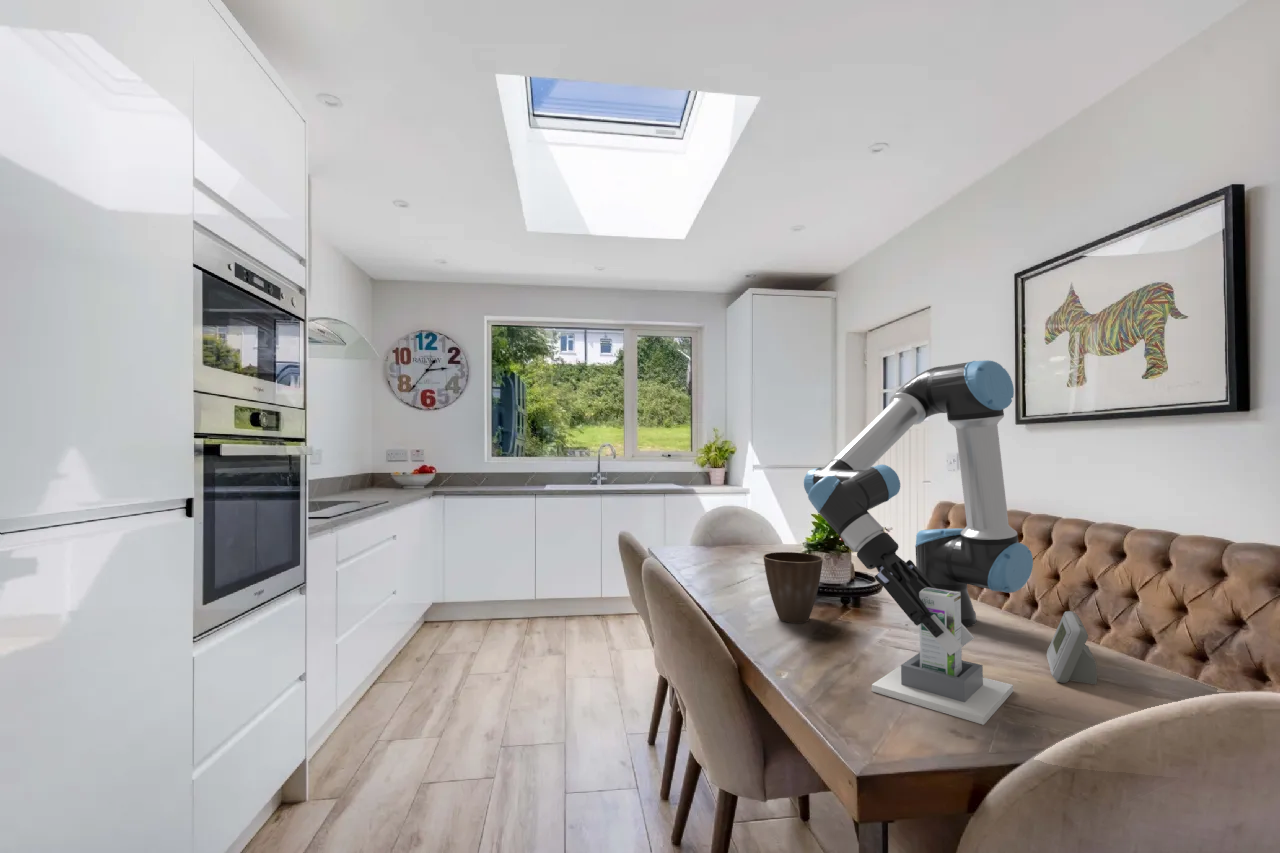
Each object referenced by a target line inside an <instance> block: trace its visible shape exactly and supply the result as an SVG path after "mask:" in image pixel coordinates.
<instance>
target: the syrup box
mask: <svg viewBox="0 0 1280 853" xmlns="http://www.w3.org/2000/svg"><path fill="white" fill-rule="evenodd" d="M919 598H920V599H921V601H922V602H923V603H924V605H925V606H926V608H927V609H928V610H929V612H930V613H931V616H932V615H933V614H935V615H936V616H937V617H938V619H939V620H940V621H941V622H942V623H943V624H944V625H945V626H946V628H947V629H948V630H949V631H950V632H951V633H952V634H953V635H954V637H955V638H956V639H957V640H958V641H959V642H960V643H961V593H960V592H955V591H948V590H942V589H935V588H930V587H927V588H924V589H922V590H921V591H920V592H919ZM931 616H930V617H931ZM962 649H963V647H962V648H960V649H959V650H958V651H956V652H955V653H953V654H952V655H951V656H950V655H949V654H948V653H947V652H946V651H945V650H944V648H943V647H942V646H941V645H940V644H939V643H938V641H937V640H936V639H935V638H934V637H933V636H932V635H931V633H930V632H929V631H928V630H927V629H926V628H925V626H924V625H923V624H922V623H921V624H919V653H920V668H924V669H928V670H932V671H936V672H940V673H944V674H948V675H952V676H955V677H957V676H958V674H959V673H960V672H961V671H962V658H963V656H962V655H963V654H962V653H963V652H962Z"/></svg>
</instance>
